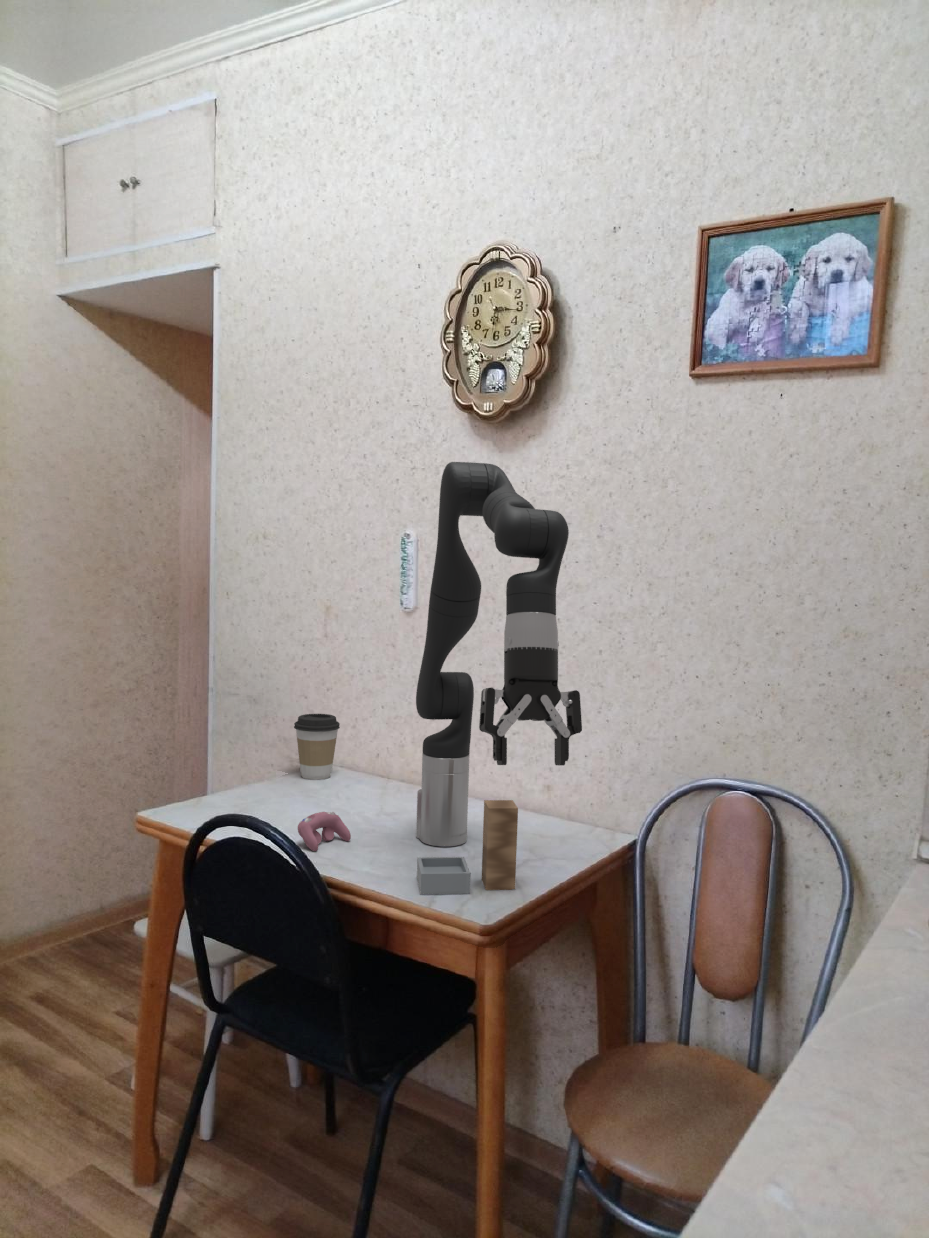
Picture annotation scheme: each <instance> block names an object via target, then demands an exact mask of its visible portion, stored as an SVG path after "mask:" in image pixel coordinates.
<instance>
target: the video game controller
mask: <svg viewBox="0 0 929 1238" xmlns="http://www.w3.org/2000/svg"><path fill="white" fill-rule="evenodd" d="M318 829H322V831H321V833H320V832H319V831H318ZM297 832H298V834H299V836H300V837H301V838H302V841H303V842H304V844H305V845H306V847H307V848H308V849H309V850H310V851H312V852H317V851H318V850H319V844H320V843H321V842H322V839H323V841H325V842H329V841H332V840H333V839H334V838H335V837H334V836H335V834H336V835H337V836H339V838H340V839H341V840H343V841H345V842H350V841H351V839H352V835H351V832H350V829H348V827H347V826H346V824H345V823H344V822H343V820H342V819H341V817H340V816H339V815H337V814H336V812H335V811H332V812H329V811H328V812H327V811H321V812H315V813H313V814H310V815H308V816H307V817H305V818H303V819H302V820H301V821H300V822H299V823H298V824H297Z"/></svg>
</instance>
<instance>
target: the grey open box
mask: <svg viewBox="0 0 929 1238" xmlns="http://www.w3.org/2000/svg"><path fill="white" fill-rule="evenodd" d="M416 864H417V866H416V878H417V879H416V880H417V883H418V884H417V885H418V888H419V889H418V890H419V893H420V894H419V895H420V896H421V895H422V896H423V895H424V896H425V895H470V894H471V870H470V867H469V865H468V863H467V860H466V857H465V856H417V863H416Z"/></svg>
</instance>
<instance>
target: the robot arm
mask: <svg viewBox="0 0 929 1238" xmlns="http://www.w3.org/2000/svg"><path fill="white" fill-rule="evenodd" d="M439 491H440V492H439V503H438V504H439V505H438V507H439V508H438V509H439V510H438V524H437V525H438V527H437V540H436V549H435V550H436V551H435V558H434V567H433V572H432V573H433V574H432V578H431V583H430V584H431V586H430V593H429V599H428V600H429V601H428V611H427V624H426V625H427V626H426V627H427V628H426V634H425V635H426V636H425V641H424V649H423V654H422V657H421V658H422V660H421V664H420V668H419V669H420V670H419V675H418V678H417V679H418V680H417V685H416V691H415V707H416V711H417V713H418V716H419V717H421V719H425V720H433V721H435V720H443V721H444V720H451V722H450V723H449V725H448V726H446V727H445V728H443V729H442V730H440V731H438V732H436V733H434V734H431V735H428V736H426V737H425V738H424V739H423V742H422V757H421V758H422V759H421V760H422V761H421V762H422V763H421V788H420V789H418V790H417V792H416V794H417V795H416V796H417V797H416V798H417V799H416V827H415V828H416V829H415V830H416V831H415V832H416V833H415V834H416V835H415V838H417V839H420V841H421V842H422V843H424V844H426V845H429V846H433V847H444V848H445V847H456V846H461V845H463V844H465V843H466V842H467V838H468V818H469V817H468V814H469V811H468V809H469V787H470V786H469V785H470V784H469V783H470V782H469V781H470V779H469V777H470V753H471V752H470V749H471V739H472V721H473V710H474V709H473V708H474V699H475V698H474V697H475V691H474V690H475V689H474V682H473V678H472V676H471V675H470V674H469V673H468V672H462V671H442V668H443V666H444V663H445V662H446V659H447V657H448V656H449V654H450V653H451V652H452V650H454V647H456V646H457V644H459V642H460V641H461V640H462V639H463V638H464V637H465V636H466V634H467V633H468V632H469V631H470V630H471V628H472V627H473V625H474V623H475V622H476V620H477V618H478V613H479V607H480V601H481V594H482V581H481V578H480V575H479V573H478V571H477V568H476V567H475V565H474V563H473V561H472V559H471V558H470V556H469V553H468V552H467V550H466V548H465V546H464V543H463V541H462V538H461V535H460V528H459V522H460V521H459V520H460V517H461V516H466V517H468V516H470V517H483V521H484V523H485V525H486V527H487V528H488V529H489V530H490V531H491V532H492V533H493V534H494V543H495V548H496V549H497V551H498V552H499V553H501V554H503V555H505V556H507V557H513V558H525V559H538V566H537V568H536V569H535V570H531V571H525V572H519V573H516V574H513V575H511V576H510V577H509V578H508V579H507V582H506V591H505V592H506V593H505V594H506V595H505V596H506V602H505V603H506V605H505V607H506V616H505V619H506V620H505V625H504V635H503V636H504V637H503V639H504V640H503V644H504V646H503V649H504V651H503V652H504V653H503V668H504V669H503V680H504V681H503V683H504V684H503V688H502V689H498V688H497V689H495V688H494V687H485V688H483V689H482V691H481V692H480V693H481V694H480V695H481V697H480V710H479V711H480V712H479V713H480V714H479V724H478V725H479V726H478V729H479V731H480V732H482V733H486V734H488V735H490V736H491V737H492V758H493V761H494V762H495V761H496V764H497V766H506V765H507V763H508V755H507V754H508V751H507V750H508V738H507V737H505V735H506V734H507V732H508V731H509V730H510V728H511V727H512V726H513V725H514V724H515V722H516V721H519V722H521V721H530V720H531V721H532V722H541V721H544V723H545V724H546V725H547V726H549V728H550V729H551V731H552V732H553V734H554V735H555V737H556V738H554V765H555V766H561V767H562V766H565V765H566V762H568V761H569V758H570V738H571V737H572V736H574V735H577V734H581V732H582V731H583V725H582V724H583V723H582V721H583V720H582V707H581V694H580V691H579V690H576V689H575V690H569V691H560V689H559V686H558V683H559V646H560V645H559V644H560V641H559V630H558V623H557V622H558V621H557V616H556V615H557V586H558V579H559V576H560V575H559V574H560V570H561V567H562V566H561V565H562V562H563V559H564V554H565V552H566V548H567V545H568V540H569V533H570V532H569V526H568V522H567V520H566V518H565V517H564V515H563V514H562V513H560V512H559V511H556V510H553V509H539V508H536V507H534V506H533V504H532V503H531V502H530V501H528V499H525V498H524V497H523V496H521V494H519V493H517V491H516V490H515V488H514V486H513V484H512V482H511V480H510V479H509V477H508V476H507V474H506V473H505V471H504V470H503V469H502V468H501V467H500V466H498V465H495V464H492V463H485V462H484V463H483V462H469V461H467V462H465V461H451V462H447V464H446V465H445V466H444V469H443V472H442V475H441V479H440V489H439ZM500 699H502V702H503V703H504V705H505V706H506V709H505V711H504V712H503V713H502V714H501V716H500V718H499V720H498V722H497V723H495V724H494V719H495V705H498V703H499V700H500ZM560 701H561V703H562V706H563V707H565V712H566V713H565V714H566V715H565V716H566V724H565V723H564V720H563V717H562V716H561V714H560V713H559V712H558V710H557V709H556V707H557V705H558V704H559V703H560Z"/></svg>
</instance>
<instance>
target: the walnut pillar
mask: <svg viewBox="0 0 929 1238" xmlns="http://www.w3.org/2000/svg"><path fill="white" fill-rule="evenodd" d="M518 814H519V808H518V806H517V805H516V803H515V801H514V800H512V799H511V800H510V799H506V800H505V799H499V800H497V799H493V800H492V799H491V800H488V799H487V800H486V799H485V800H484V801H483V823H482V824H483V827H482V829H483V830H482V850H481V851H482V855H481V857H482V858H481V881H482V884H483V887H484V889H485V891H511V890H512V889H515V890H516V874H517V871H516V870H517V852H518V851H517V849H518V846H517V845H518V843H517V842H518V822H519V821H518V819H519V818H518V817H519V815H518ZM512 891H513V890H512Z"/></svg>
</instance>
